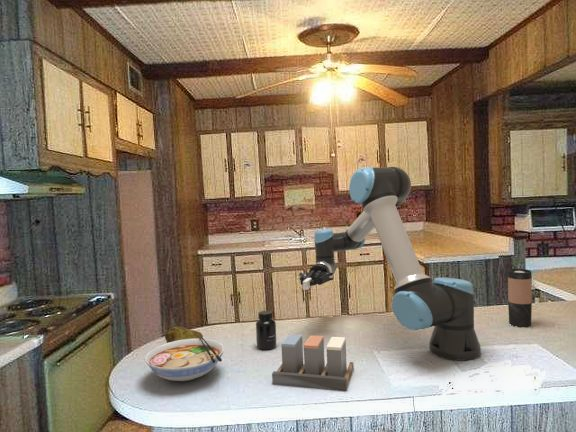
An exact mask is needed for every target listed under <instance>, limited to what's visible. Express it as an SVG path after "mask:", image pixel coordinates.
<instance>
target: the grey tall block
mask: <svg viewBox="0 0 576 432" xmlns="http://www.w3.org/2000/svg"><path fill="white" fill-rule="evenodd" d="M346 340H347V338H346V337H343V336H342V337H341V336H331V338H330V339H329V341H328V343H327V345H326V364H327V373H328V376H336V377H345V374H346V371H347V369H348V367H347V366H348V365H347V344H346V342H347V341H346Z"/></svg>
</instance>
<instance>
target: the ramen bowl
mask: <svg viewBox="0 0 576 432" xmlns="http://www.w3.org/2000/svg"><path fill="white" fill-rule="evenodd" d="M199 335H200V334H199ZM199 335H198V337H199ZM200 336H201V335H200ZM199 338H200V337H199ZM201 338H202V336H201ZM201 338H200V339H195V338H194V339H184V340H177V341H173V342H169V343H167V342H166V343H163V344H160V345H158V346H156V347H153V348H152V349H151V350H150V351H147V353H146V354H145V357H144V362H145V363H146V365H147V366H148V367H149V368H150V369H151V371H152V372H153V373H154V374H155V375H156V376H157V377H159V378H162V379H166V380H168V381H173V382H174V381H175V382H176V381H177V382H189V381H193V380H195V379H197V378H200V377H202V376H204V375H206V374H208V373H209V372H211V371H212V370H213V369H214V367H215V366H216V365H217V364H218V363H219V362H222V361H223V359H222V356H223V354H224V350H225V349H224V344H223V343H220V342H219V341H218V340H214V339H209V338H204V337H203V338H202V339H201Z"/></svg>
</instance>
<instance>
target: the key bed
mask: <svg viewBox="0 0 576 432" xmlns="http://www.w3.org/2000/svg"><path fill="white" fill-rule="evenodd" d="M347 366H348V367H347V371H346V374H345V376H344V377H336V376H328V373H327V363H325V368H324V370H323V372H322V374H321V375H312V374H305V367H304V364H303V367H302V368H301V370H300V371H299V373H288V372H283V368H282V363H281V364H280V366H279V368H277V370H275V371H272V373H271V380H272V381H271V382H272V383H271V384H272V385H277V386H291V387H301V388H309V389H310V388H311V389H321V390H333V391H343V392H346V391H348V390H347V389H348V387H349V384H350V381H351V378H352V375H353V372H354V367H355V366H354V362H353V361H350V362H349V363H348V365H347Z"/></svg>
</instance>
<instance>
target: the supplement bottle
mask: <svg viewBox="0 0 576 432" xmlns="http://www.w3.org/2000/svg"><path fill="white" fill-rule="evenodd" d="M257 318H258V319H257V320H256V322H255V330H256V332H255V337H256V347H257V349H259V350H261V351H270V350H273V349H275V348H276V347H277V323H276V320H275V319H274V316H273V311H272V310H261V311H259V312H258V316H257Z"/></svg>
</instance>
